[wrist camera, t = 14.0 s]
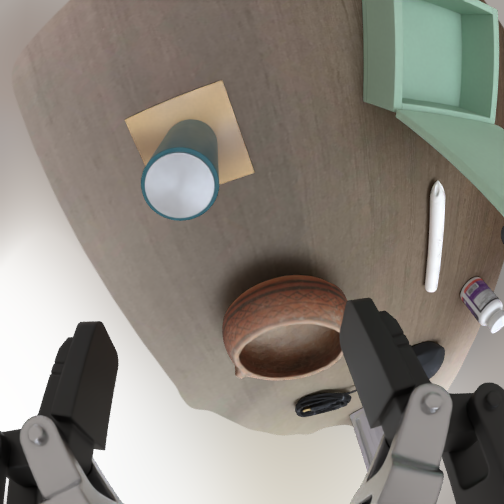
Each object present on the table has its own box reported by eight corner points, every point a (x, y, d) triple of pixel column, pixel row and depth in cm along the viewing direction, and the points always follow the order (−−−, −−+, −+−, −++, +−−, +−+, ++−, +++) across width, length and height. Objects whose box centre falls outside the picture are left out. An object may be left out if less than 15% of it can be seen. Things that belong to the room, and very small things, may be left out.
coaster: (125, 119, 27) (124, 119, 27) (222, 79, 26) (222, 80, 26) (164, 203, 33) (163, 205, 32) (254, 171, 32) (254, 172, 32)
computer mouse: (439, 353, 57) (450, 372, 52) (302, 414, 62) (307, 436, 57) (440, 329, 52) (454, 349, 47) (288, 397, 56) (293, 421, 52)
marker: (426, 178, 34) (437, 186, 32) (439, 175, 34) (450, 182, 32) (422, 285, 44) (429, 295, 42) (432, 281, 44) (440, 290, 42)
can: (156, 131, 28) (127, 166, 19) (206, 111, 28) (202, 135, 18) (176, 177, 31) (160, 232, 22) (224, 159, 31) (230, 207, 21)
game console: (369, 402, 63) (396, 476, 47) (406, 420, 76) (428, 475, 59) (349, 414, 65) (372, 487, 49) (390, 430, 78) (409, 484, 61)
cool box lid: (515, 213, 12) (481, 275, 15) (594, 209, 13) (570, 253, 16) (396, 108, 23) (387, 157, 26) (497, 125, 24) (486, 162, 27)
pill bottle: (476, 295, 48) (504, 330, 40) (456, 302, 48) (483, 340, 40) (484, 272, 45) (515, 307, 37) (463, 279, 45) (494, 317, 37)
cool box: (360, -20, 21) (390, -33, 16) (461, 10, 22) (497, 10, 17) (362, 101, 29) (393, 112, 23) (459, 113, 30) (493, 127, 24)
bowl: (214, 337, 45) (216, 395, 36) (231, 244, 36) (237, 303, 28) (315, 341, 48) (332, 394, 39) (353, 257, 40) (385, 310, 31)
